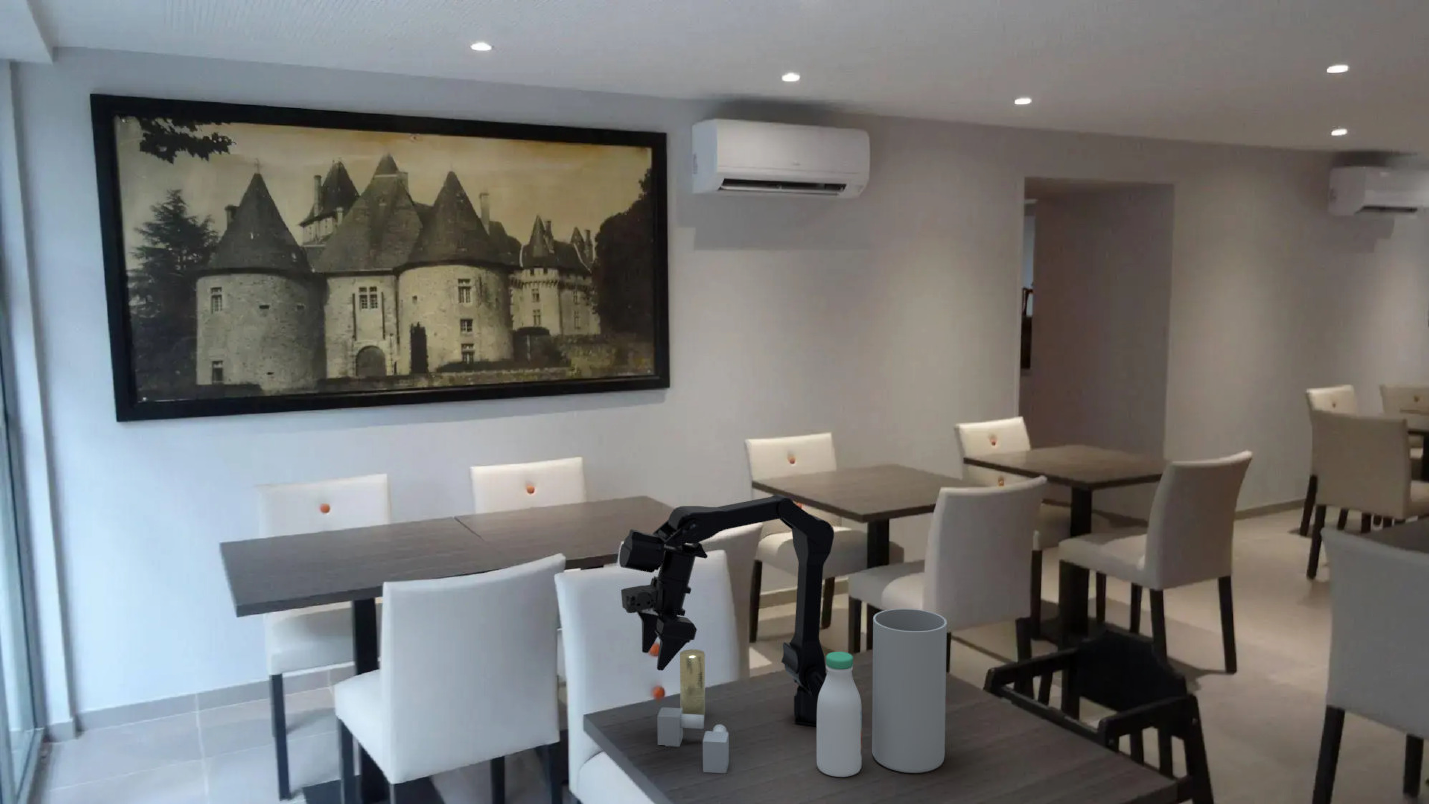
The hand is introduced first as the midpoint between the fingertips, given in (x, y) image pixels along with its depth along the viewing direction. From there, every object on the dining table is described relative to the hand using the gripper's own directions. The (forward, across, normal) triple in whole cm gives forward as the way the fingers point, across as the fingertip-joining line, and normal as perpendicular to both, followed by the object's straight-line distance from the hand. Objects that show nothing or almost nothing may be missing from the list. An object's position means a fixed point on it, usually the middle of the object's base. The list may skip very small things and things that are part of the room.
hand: (652, 660), depth 174 cm
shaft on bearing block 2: (+13, +10, +13) cm, 21 cm away
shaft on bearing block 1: (+14, 0, +10) cm, 17 cm away
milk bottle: (+8, +19, +31) cm, 37 cm away
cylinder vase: (+4, +20, +44) cm, 48 cm away
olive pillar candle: (+12, -10, +15) cm, 22 cm away
